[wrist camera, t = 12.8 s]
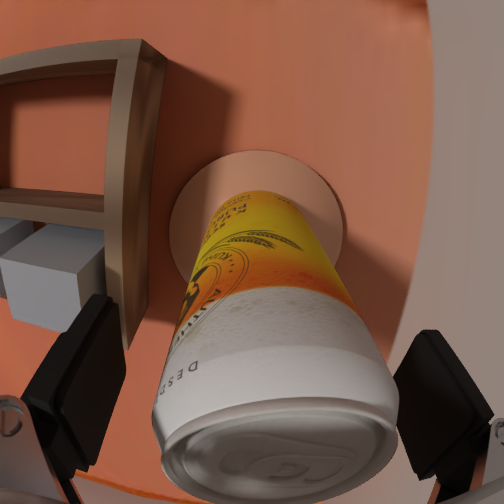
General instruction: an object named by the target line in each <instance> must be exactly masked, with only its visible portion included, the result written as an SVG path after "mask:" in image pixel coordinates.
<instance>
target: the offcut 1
mask: <svg viewBox="0 0 504 504" xmlns="http://www.w3.org/2000/svg"><path fill="white" fill-rule="evenodd" d="M32 234H34V225H33V221H31V220H24V219H16V218H9V217H1V216H0V257H1V256H2V255H3V254H5V253H6V252H7V251H9V250H10V249H12V248H13V247H14V246H16V245H17V244H19V243H20V242H22V241H23V240H25V239H26V238H28V237H29V236H31V235H32ZM4 292H6V290H5V286H4V282H3V277H2V272H1V267H0V296H1V295H2V294H3V293H4Z"/></svg>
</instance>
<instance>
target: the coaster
mask: <svg viewBox="0 0 504 504" xmlns="http://www.w3.org/2000/svg"><path fill="white" fill-rule="evenodd" d="M254 190H263V191H269V192H274V193H276V194H279V195H281V196H283V197H285V198H287V199H288V200H290V201H291V202H292V203H293V204H294V205H295V206H296V207H297V208H298V209H299V210H300V212H301V213H302V215H303V216H304V218H305V219H306V221H307V223H308V224H309V226H310V228H311V229H312V231H313V233H314V234H315V236H316V238H317V239H318V241H319V243H320V244H321V246H322V248H323V250H324V251H325V253H326V255H327V256H328V258H329V260H330V261H331V263H332V265H333V267H335V265H336V263H337V260H338V257H339V254H340V251H341V246H342V240H343V224H342V217H341V213H340V209H339V206H338V203H337V201H336V199H335V197H334V195H333V193H332V191H331V189H330V188H329V187H328V185H327V184H326V183H325V181H324V180H323V179H322V178H321V177H320V176H319V175H318V174H317V173H316V172H315V171H313V170H312V169H311V168H309V167H308V166H307V165H305V164H304V163H302V162H300V161H298V160H297V159H295V158H293V157H290V156H287V155H285V154H282V153H278V152H273V151H266V150H246V151H240V152H235V153H232V154H229V155H225V156H223V157H221V158H219V159H216V160H214V161H212V162H211V163H209V164H208V165H206V166H205V167H203V168H202V169H201V170H200V171H199V172H198V173H196V174H195V175H194V176H193V177H192V178H191V179H190V181H189V182H188V183H187V184H186V185H185V187H184V188H183V190H182V191H181V193H180V194H179V196H178V198H177V200H176V203H175V205H174V207H173V211H172V214H171V218H170V225H169V242H170V249H171V253H172V256H173V260H174V262H175V264H176V267H177V269H178V271H179V272H180V274H181V276H182V277H183V279H184V280H185V281H186V283H187V284H188V285H189V282H190V279H191V276H192V273H193V270H194V267H195V264H196V261H197V258H198V255H199V252H200V249H201V246H202V243H203V240H204V237H205V234H206V231H207V228H208V225H209V222H210V220H211V218H212V216H213V214H214V213H215V212H216V210H217V209H218V208H219V207H220V206H221V205H222V204H223V203H224V202H225V201H227V200H228V199H230V198H231V197H233V196H235V195H237V194H240V193H243V192H247V191H254Z"/></svg>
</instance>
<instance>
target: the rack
mask: <svg viewBox="0 0 504 504" xmlns="http://www.w3.org/2000/svg"><path fill="white" fill-rule="evenodd" d="M166 64H167V58H166V57H165V56H164V55H162V54H161V53H160V52H159V51H157V50H156V49H155V48H153V47H152V46H151V45H150V44H148V43H147V42H146V41H144V40H143V39H121V40H107V41H96V42H86V43H78V44H71V45H64V46H58V47H52V48H46V49H41V50H36V51H32V52H27V53H23V54H18V55H14V56H10V57H7V58H3V59H0V87H1V86H6V85H11V84H17V83H23V82H29V81H35V80H42V79H50V78H58V77H68V76H79V75H94V74H115V80H114V86H113V93H112V100H111V108H110V117H109V126H108V137H107V149H106V164H105V186H104V195H96V194H85V193H74V192H62V191H50V190H37V189H22V188H7V187H0V216H1V217H9V218H16V219H24V220H31V221H39V222H46V223H54V224H61V225H69V226H76V227H84V228H91V229H99V230H104V247H105V269H106V285H107V296H110V297H112V298H113V302H115V303H118V305H119V314H120V324H121V333H122V341H123V349H124V350H129V347H130V345H131V343H132V341H133V338H134V336H135V334H136V332H137V329H138V327H139V325H140V323H141V321H142V318H143V316H144V314H145V312H146V310H147V308H148V234H149V212H150V195H151V181H152V169H153V158H154V148H155V139H156V131H157V122H158V115H159V107H160V100H161V94H162V87H163V81H164V75H165V69H166ZM0 297H1V298H4V299H7V295H6V292H4V293H3V294H2V295H1V296H0Z"/></svg>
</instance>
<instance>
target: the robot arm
mask: <svg viewBox="0 0 504 504" xmlns="http://www.w3.org/2000/svg"><path fill="white" fill-rule="evenodd" d="M125 376H126V363H125V356H124V349H123V341H122V333H121V324H120V314H119V305H118V303H115V302H113V298H112V297H110V296H105V295H99V294H92V295H91V297H90V298H89V299H88V301H87V302H86V304H85V305H84V306H83V308H82V309H81V311H80V312H79V314H78V315H77V316H76V318H75V319H74V321H73V322H72V324H71V325H70V327H69V328H68V330H67V331H66V332H63V333H61V334H60V335H59V337H58V338H57V340H56V341H55V343H54V344H53V346H52V347H51V349H50V350H49V352H48V353H47V355H46V357H45V358H44V360H43V361H42V363H41V364H40V366H39V368H38V369H37V371H36V373H35V374H34V376H33V377H32V379H31V381H30V382H29V384H28V386H27V388H26V389H25V391H24V393H23V394H22V396H21V398H20V399H19V398H17V397H16V396H12V395H0V504H84V502H83V500H82V498H81V497H80V495H79V493H78V491H77V489H76V487H75V485H74V483H73V481H72V478H73V477H74V474H75V471H76V469H78V470H81V471H84V472H88V469H89V466H90V465H92V466H94V465H95V464H96V462H97V459H98V455H99V452H100V449H101V446H102V443H103V440H104V437H105V433H106V430H107V427H108V424H109V421H110V419H111V416H112V413H113V410H114V407H115V404H116V401H117V398H118V396H119V393H120V390H121V387H122V385H123V382H124V379H125ZM393 379H394V381H395V383H396V386H397V389H398V393H399V408H398V416H397V423H396V426H397V429H398V431H399V434H400V436H401V439H402V442H403V444H404V447H405V450H406V453H407V455H408V458H409V461H410V464H411V466H412V469H413V471H414V473H416V474H417V476H418V478H419V481H421V480H424V479H427V478H431V477H432V476H434V475H435V474H436V477H437V479H436V482H435V484H434V487H433V490H432V493H431V495H430V498H429V501H428V503H427V504H504V418H498V419H496V420H494V421H493V423H492V424H491V425H490V424H489V423H488V422H489V421H490V420H491V418H492V417H493V416H494V413H493V412H492V410H491V408H490V406H489V405H488V403H487V402H486V400H485V399H484V397H483V395H482V394H481V392H480V390H479V389H478V387H477V386H476V384H475V382H474V381H473V379H472V378H471V376H470V375H469V373H468V372H467V370H466V369H465V367H464V366H463V364H462V363H461V361H460V360H459V358H458V357H457V356H456V354H455V353H454V351H453V350H452V348H451V347H450V346H449V344H448V343H447V341H446V340H445V339H444V337H443V336H442V334H441V333H440V332H439V331H438V330H422V331H421V332H420V333H419V334H417V335H416V337H415V338H414V340H413V342H412V344H411V346H410V348H409V349H408V351H407V353H406V355H405V357H404V359H403V360H402V362H401V364H400V366H399V367H398V369H397V371H396V373H395V374H394V376H393Z"/></svg>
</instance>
